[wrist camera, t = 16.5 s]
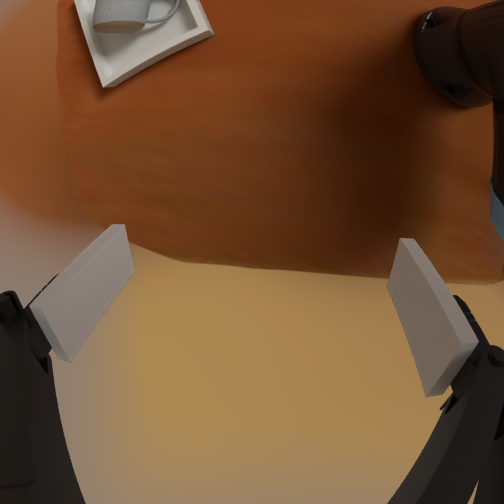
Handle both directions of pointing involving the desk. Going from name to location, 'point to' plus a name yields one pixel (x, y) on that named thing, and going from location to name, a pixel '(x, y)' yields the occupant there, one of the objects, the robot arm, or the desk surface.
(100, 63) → the tray
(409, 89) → the desk surface
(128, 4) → the ceramic mug
